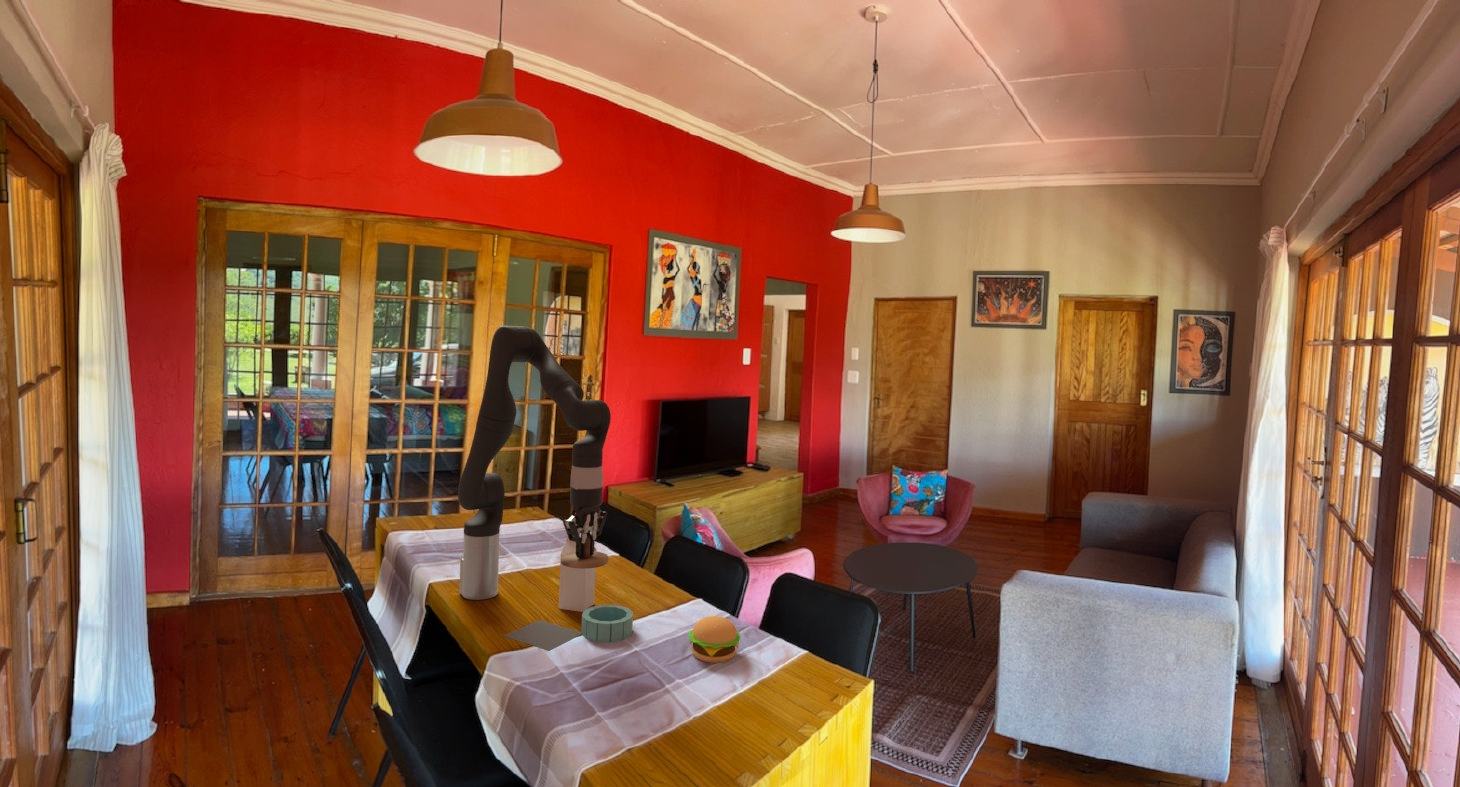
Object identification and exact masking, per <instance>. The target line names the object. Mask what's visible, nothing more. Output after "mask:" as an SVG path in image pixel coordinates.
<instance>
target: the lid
mask: <svg viewBox="0 0 1460 787" xmlns="http://www.w3.org/2000/svg"><path fill="white" fill-rule="evenodd" d="M585 543H586V552H585V558H583V559H581V558H577V557H576V552H570V553H567V554H565V555H563V556H562V557H561V556H560V558H561V563H562V564H563V565H564V566H567V567H571V568H580V569H586V568H596V569H597V568H600V567H603V566H605V565H607V564H608V563H609V555H608V554H606V553H604V552H601V551H597V550H596V551H594V554H593V555H592V556H590V538H588V537H586V540H585Z"/></svg>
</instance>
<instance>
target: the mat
mask: <svg viewBox="0 0 1460 787" xmlns="http://www.w3.org/2000/svg"><path fill="white" fill-rule="evenodd" d="M579 636H582V634H581V631H578V630H575V629H570V628H569V627H565V626H561V625H558V624H554V623H552V622H548V621H544V620H541V619H538V620H536V621H534V622H532V623H529V624H527V625H525V626H523V627H520V628H518V629H515V630H514V631H511V632H509V633H507V634H504V635H503V637H505V638H507V639H511V640H514V641H517V642H520V643H523V644H527V645H530V646H533V647H535V648H537V649H542V650H545V651H548V652H551V650H554V649H556V648H557V647H559V646H561V645H563V644H566V643H568V642H569V641H571V640H573V639H575V638H577V637H579Z"/></svg>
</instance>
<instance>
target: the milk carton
mask: <svg viewBox="0 0 1460 787" xmlns="http://www.w3.org/2000/svg"><path fill="white" fill-rule="evenodd" d="M594 551H597V548H596V547H595V546H594ZM570 552H576V542H574V541H570V540H569V538H568V535H567V536H566V539H565V542H564V545H563V547H562V550H561V552H560V562H559V564H560V565H559V591H558V592H559V593H558V609H560V610H567V611H574V612H582V613H583V612H584V610H586V609H588V608H590V607H593V605H594V606H595V597H596V596H595V595H596V593H595V592H596V574H597V573H596V569H597V567H596V568H586V569H580V568H571V567H567V566H564V565H563V564H562V563H561V557H562V556H563V555H565V554H567V553H570Z"/></svg>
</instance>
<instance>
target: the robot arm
mask: <svg viewBox="0 0 1460 787" xmlns="http://www.w3.org/2000/svg"><path fill="white" fill-rule="evenodd" d="M489 350H490V351H489V352H490V353H489V360H488V367H487V368H488V369H487V375H486V379H485V380H486V381H485V386H484V389H483V395H482V399H481V400H482V401H481V403H480V406H479V410H478V413H477V414H478V415H477V420H476V425H475V430H474V434H473V439H472V443H471V444H470V451H469V453H468V457H467V460H466V462H465V465H464V468H463V471H462V474H461V477H460V479H459V480H460V481H459V484H458V489H457V498H458V499H457V501H458V503H459V505H460V507H462V508H463V510H466V511H475V510H478V511H477V512H476V514H474V515H473V516H472V517H470V519H468V520H466V521H465V522H464V524H463V547H462V548H463V551H462V552H463V553H462V555H463V557H462V558H461V559H460V560H459V562H460V567H459V594H460V595H461V596H462V598H464V599H467V600H472V601H483V600H488V599H492V598H494V597H496V596H497V595H498V593H499V592H498V591H499V571H500V570H499V566H500V565H499V564H500V562H499V561H500V530H501V525H502V523H503V519H504V517H503V516H504V504H505V484H504V481H503V479H502V476H500V475H499V474H498V473H496V472H487V471H488V468H489V467H490V464H491V463H492V461H493V460H494V458H495V457H496V456H497V454H499V452H500V451H501V450H502V449H503V447H504V446H505V445H506V443H507V442H508V440H509V439H510V437H511V435H512V434H513V430H514V427H515V426H514V425H515V421H516V418H517V405H516V402H515V399H514V396H513V394H512V392H511V391H512V390H511V389H510V385H509V374H510V370H511V367H512V363H528V364H530V365H532V366H533V367H534V368H536V369H537V370H538V371H539V380H540V381H539V382H540V385H541V387H542V389H543V391H544V392H545V394H546V395H547V396H548V397H549V398H550V399H551V400H552V401H553V402H554V403H555V404H556V406H557V407H558V408H559V411H560V413H561V415H562V417H563V419H564V422H565V423H566V424H567V426H568V427H570V428H571V429H572V430H574V431H579V432H584V431H585V435H584V437H582V438H581V439H579V440H576V441H575V442H574V444H572V452H571V453H572V457H571V472H570V490H569V492H570V493H569V495H570V496H569V502H570V505H571V507H572V511H571V516H570V517H569V518H568V519H564V520H563V521H562V524H563V527H564V529H565V532H566V534H567V536H568V538H569V540H570V541H574V542H576V557H577V558H581V559H583V558H585V552H586V543H585V540H586V537H588V538H590V556H592V555H593V554H594V547H595V541H596V539H597V537H599V536H601V535H602V532H603V528H604V526H605V523H606V519H607V517H608V511H605V510H604V511H603V510H601V507H600V506H601V505H602V504H603V498H604V496H603V493H604V492H603V490H604V488H603V487H604V471H603V458H604V457H603V456H604V455H603V454H604V452H603V451H604V450H603V449H604V445H605V443H606V440H607V435H608V432H609V429H610V425H611V419H612V418H611V415H612V414H611V409H610V407H609V405H608V403H606V402H605V401H603V399H602V400H600V399H588V400H587V399H586V400H583V399H584V397H585V396H584V395H585V394H584V389H583V388H582V386H581V385H580V384H579V383H578V382H577V381H575V379H573V377H571V375H570V374H569V373H568V372H566V370H565V369H564V367H562V366H561V365H560V363H559V362H558V361H557V358H555V356H554V355H553V353H552V352H551V350H550V348H549V347H548V345H547V344H546V342H545V341H544V340H543V338H542V337H541V335H540V334H539V333H538V332H537V331H536V330H535V329H534V328H531V327H529V326H519V325H501V326H499V327H498V328H496V330H495V332H494V334H493V336H492V339H491V345H490V349H489Z"/></svg>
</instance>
